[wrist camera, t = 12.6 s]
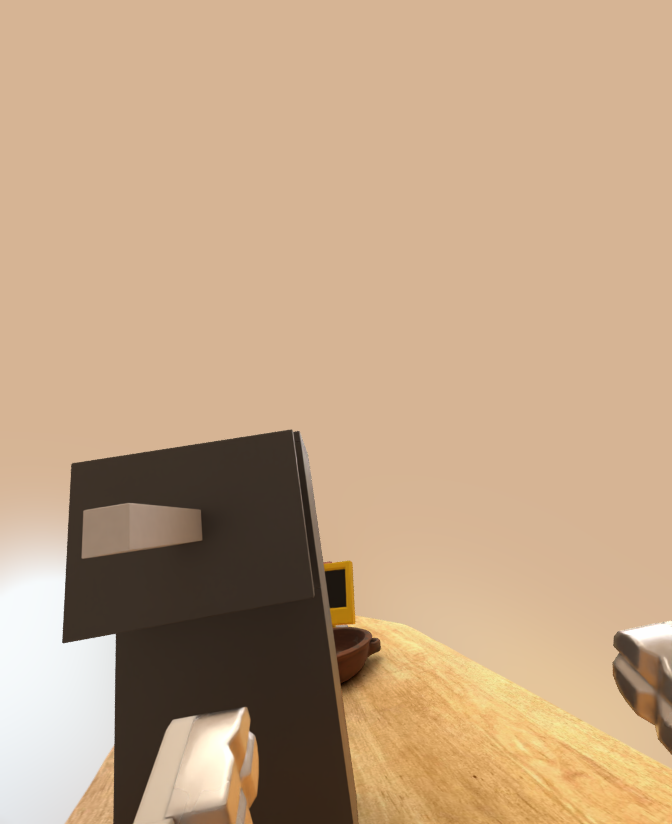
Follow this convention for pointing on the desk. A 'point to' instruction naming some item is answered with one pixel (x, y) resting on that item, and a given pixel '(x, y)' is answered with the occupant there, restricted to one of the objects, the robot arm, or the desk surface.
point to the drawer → (184, 535)
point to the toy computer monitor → (340, 592)
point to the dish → (353, 649)
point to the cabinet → (245, 696)
